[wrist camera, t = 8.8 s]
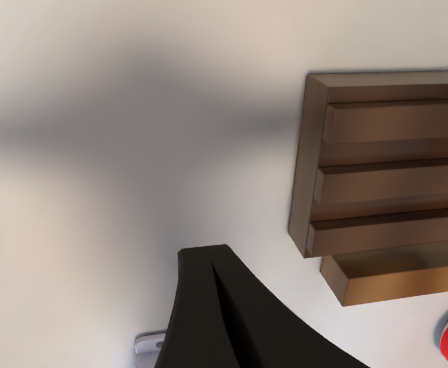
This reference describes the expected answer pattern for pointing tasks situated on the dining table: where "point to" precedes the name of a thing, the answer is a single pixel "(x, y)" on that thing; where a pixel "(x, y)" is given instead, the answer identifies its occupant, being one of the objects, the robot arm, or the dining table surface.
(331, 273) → the back rail
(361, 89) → the trivet
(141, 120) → the dining table surface
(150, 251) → the dining table surface
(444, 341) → the beverage can
